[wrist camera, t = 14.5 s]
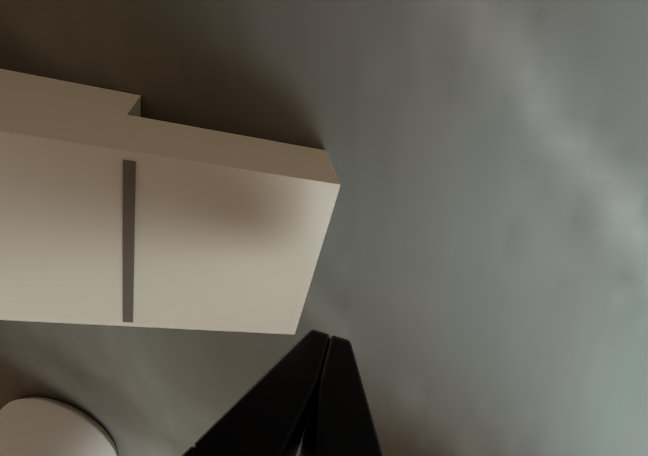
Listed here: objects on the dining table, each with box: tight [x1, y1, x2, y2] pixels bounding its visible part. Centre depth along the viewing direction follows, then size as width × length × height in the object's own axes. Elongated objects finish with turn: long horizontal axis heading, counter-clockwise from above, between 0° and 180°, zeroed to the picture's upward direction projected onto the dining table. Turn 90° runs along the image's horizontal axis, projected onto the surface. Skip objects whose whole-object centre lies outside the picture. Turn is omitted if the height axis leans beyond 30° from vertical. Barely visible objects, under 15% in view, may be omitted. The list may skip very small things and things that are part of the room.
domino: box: [0, 92, 341, 335], centre depth 10 cm, size 2×5×9 cm
